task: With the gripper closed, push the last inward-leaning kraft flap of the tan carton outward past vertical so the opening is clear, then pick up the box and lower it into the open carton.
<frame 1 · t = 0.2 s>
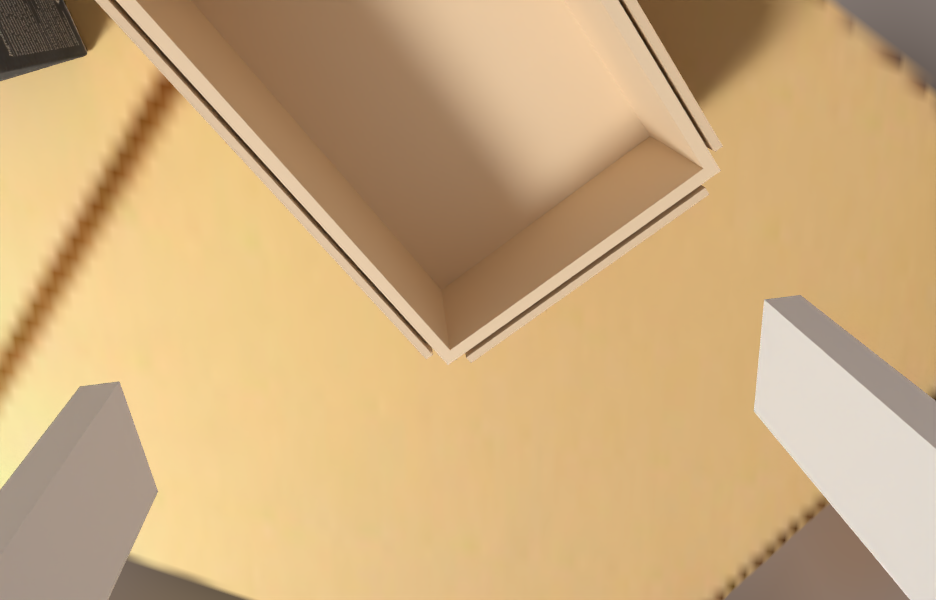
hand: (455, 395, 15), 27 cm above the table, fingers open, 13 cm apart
carton: (418, 48, 38), on the table
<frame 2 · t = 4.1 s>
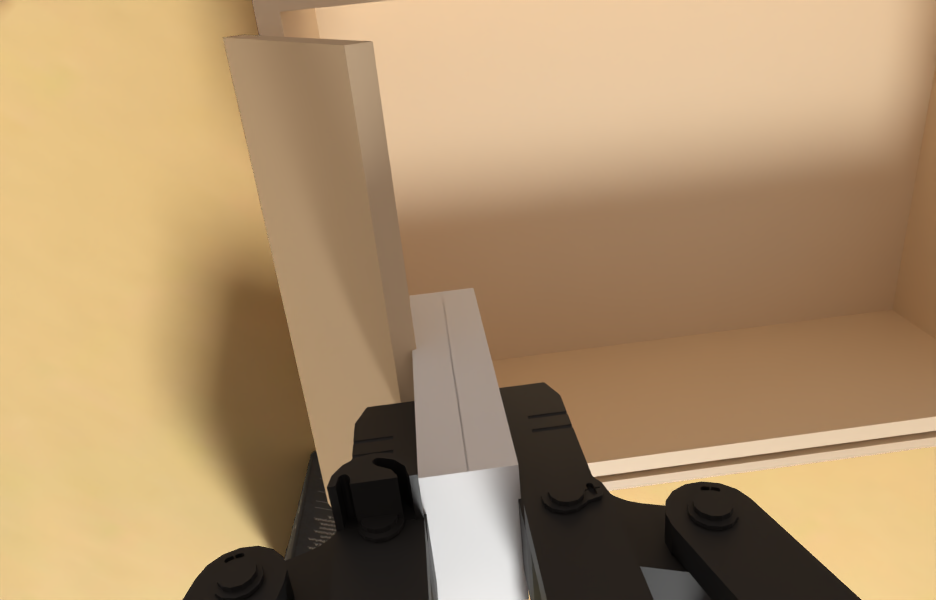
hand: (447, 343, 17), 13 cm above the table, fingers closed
flap: (343, 348, 17), point 12 cm above the table, hinge at 28.0°, touching gripper
carton: (632, 169, 29), on the table
box: (351, 518, 35), on the table
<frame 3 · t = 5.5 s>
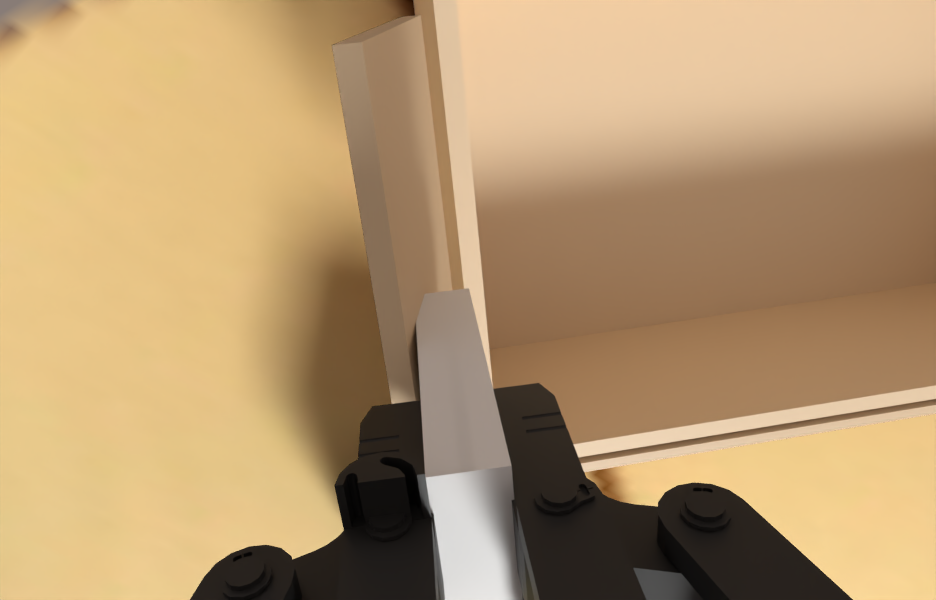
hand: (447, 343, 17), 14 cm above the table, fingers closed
flap: (426, 326, 18), point 13 cm above the table, hinge at -12.1°, touching gripper
carton: (714, 150, 30), on the table
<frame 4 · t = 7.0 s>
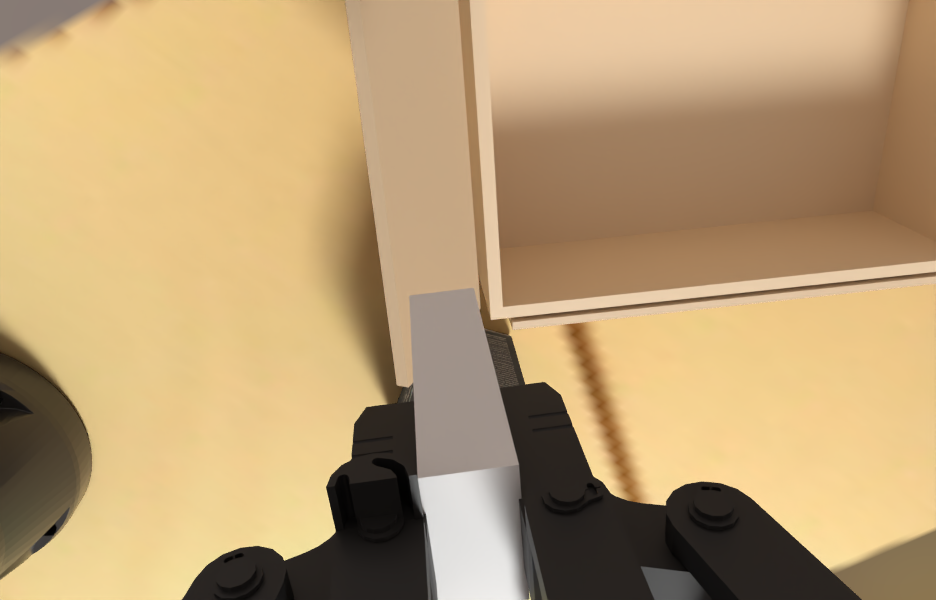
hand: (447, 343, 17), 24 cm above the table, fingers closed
flap: (426, 178, 26), point 12 cm above the table, hinge at -29.0°
carton: (681, 95, 38), on the table
box: (449, 375, 45), on the table
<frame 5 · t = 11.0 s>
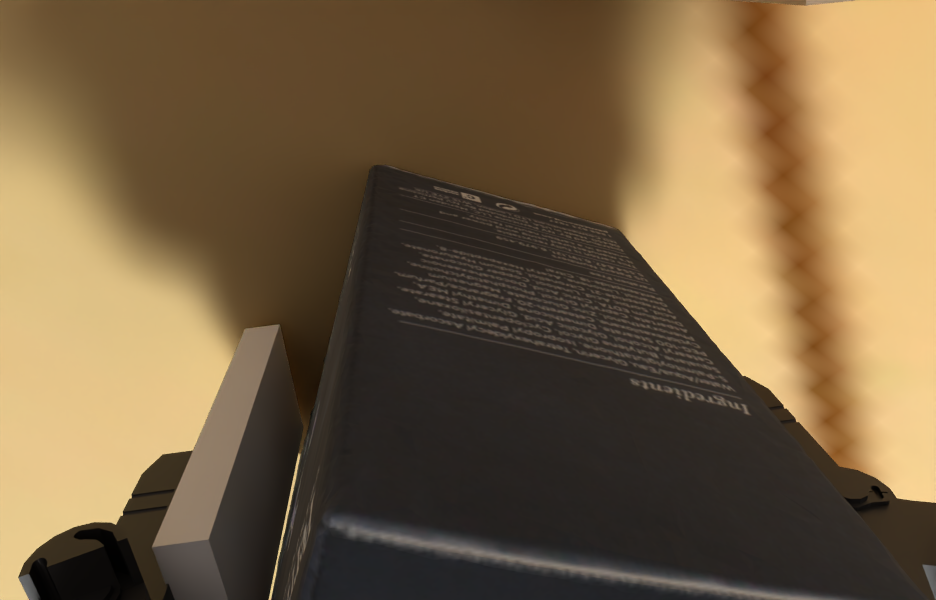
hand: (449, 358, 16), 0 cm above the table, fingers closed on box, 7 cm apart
box: (448, 346, 17), on the table, touching gripper
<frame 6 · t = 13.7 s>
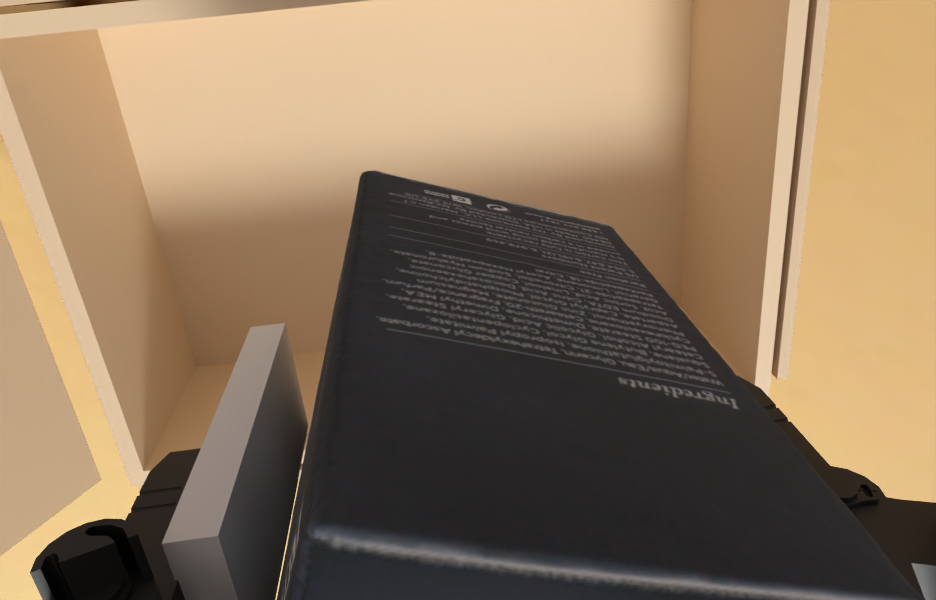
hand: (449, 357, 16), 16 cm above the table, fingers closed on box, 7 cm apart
carton: (422, 175, 31), on the table
box: (445, 348, 17), point 16 cm above the table, touching gripper
when the fingers open (2 cm above the table, at t = 16.5 s): box stays where it is, resting on carton.
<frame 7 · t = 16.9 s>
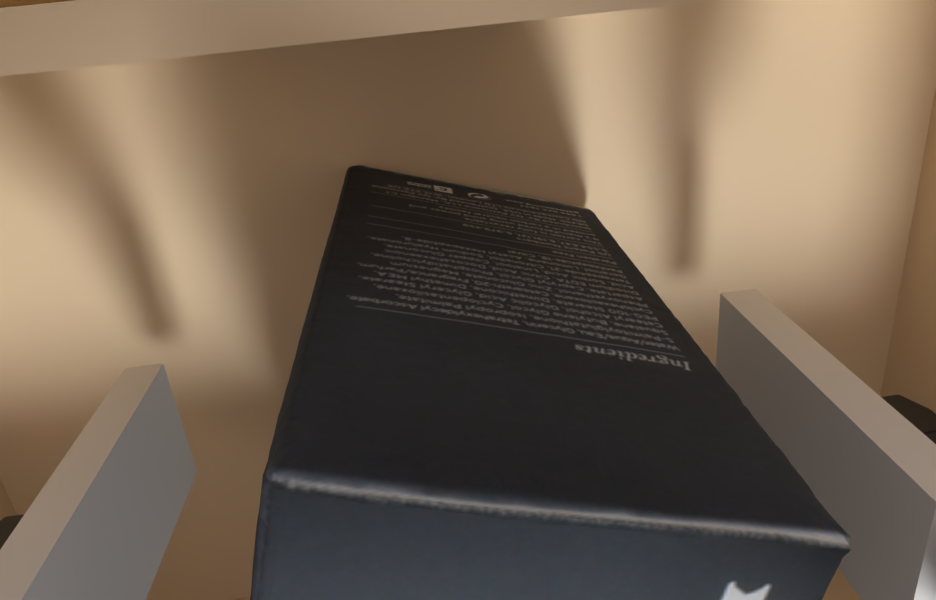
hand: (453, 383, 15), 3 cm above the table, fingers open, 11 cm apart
carton: (444, 317, 18), on the table
box: (438, 334, 17), point 1 cm above the table, touching carton
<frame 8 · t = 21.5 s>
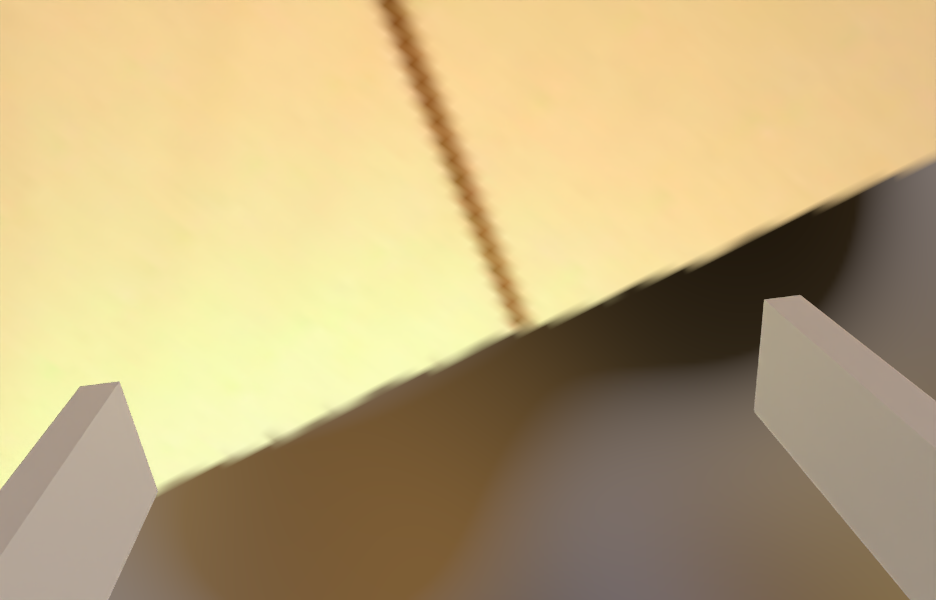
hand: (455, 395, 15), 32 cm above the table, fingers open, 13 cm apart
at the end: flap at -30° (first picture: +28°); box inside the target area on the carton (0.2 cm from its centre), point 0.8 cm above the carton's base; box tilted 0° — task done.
